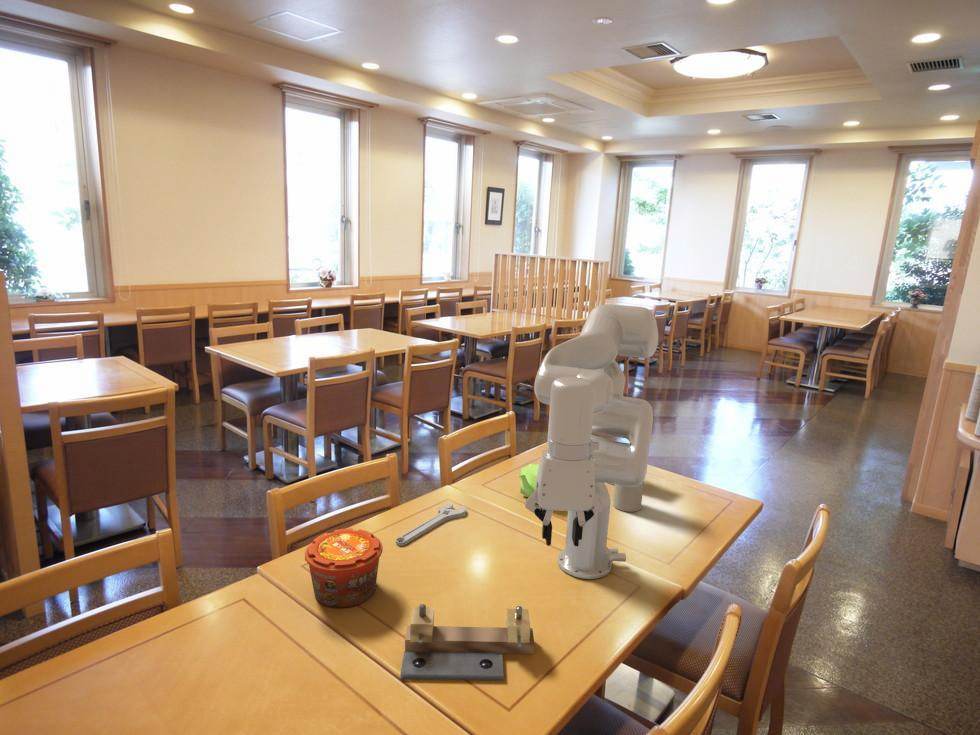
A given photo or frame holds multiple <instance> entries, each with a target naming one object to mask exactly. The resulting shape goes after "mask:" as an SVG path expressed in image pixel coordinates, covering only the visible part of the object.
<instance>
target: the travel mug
mask: <svg viewBox="0 0 980 735" xmlns="http://www.w3.org/2000/svg"><path fill="white" fill-rule="evenodd" d="M644 481H645V480H644ZM644 481H643V483H642V484H641V485H640V486H638V487H628V486H622V485H616V484H615V485H614V490H613V498H612V505H613V507H615V508H616V509H617V510H620V511H623V512H628V513H629V512H631V513H634V512H638V511H640V510H641V508H642V501H643V500H642V499H643V493H644V492H643V491H644V484H645V482H644Z"/></svg>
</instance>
